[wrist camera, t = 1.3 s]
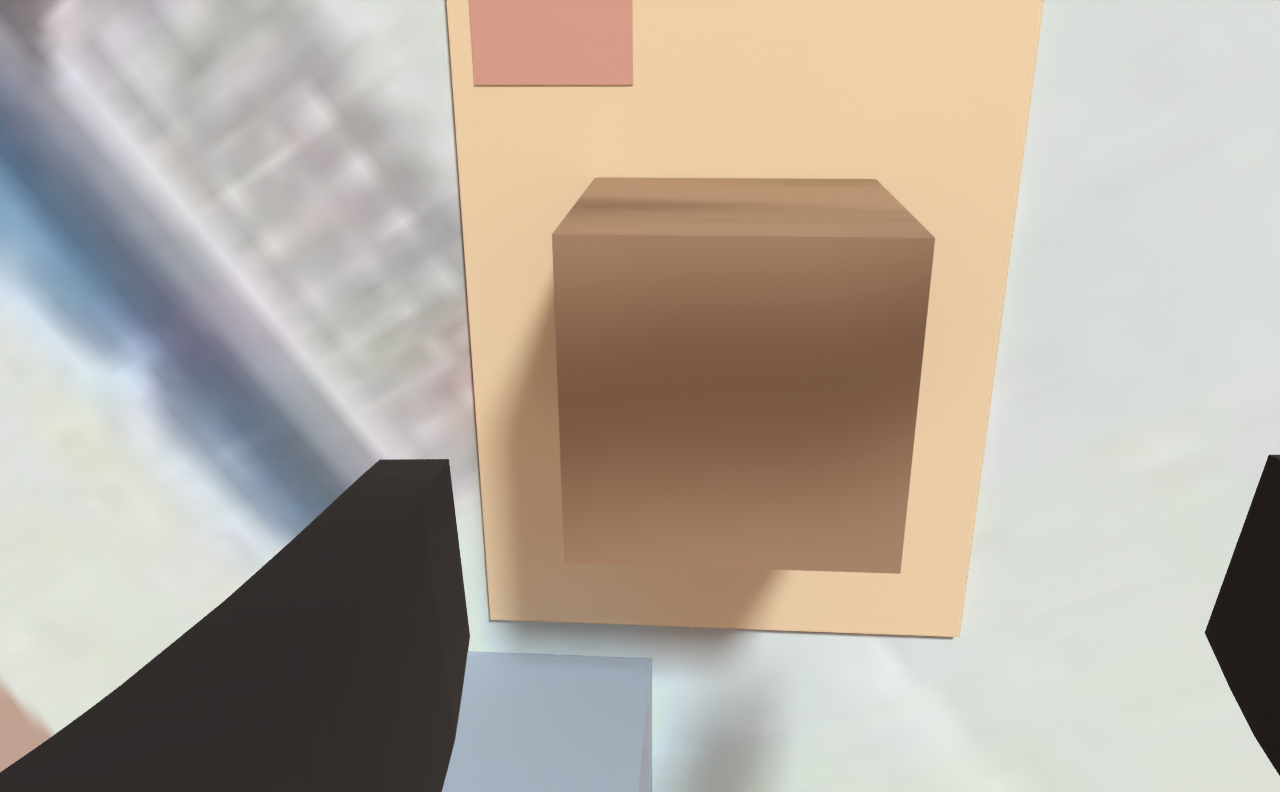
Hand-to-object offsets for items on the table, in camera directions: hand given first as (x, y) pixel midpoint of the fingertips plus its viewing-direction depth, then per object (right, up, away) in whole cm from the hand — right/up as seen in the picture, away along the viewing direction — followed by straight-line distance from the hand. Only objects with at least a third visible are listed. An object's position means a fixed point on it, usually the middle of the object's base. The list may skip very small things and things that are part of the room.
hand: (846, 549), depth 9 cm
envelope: (0, +3, +10) cm, 10 cm away
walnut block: (0, +3, +9) cm, 10 cm away
